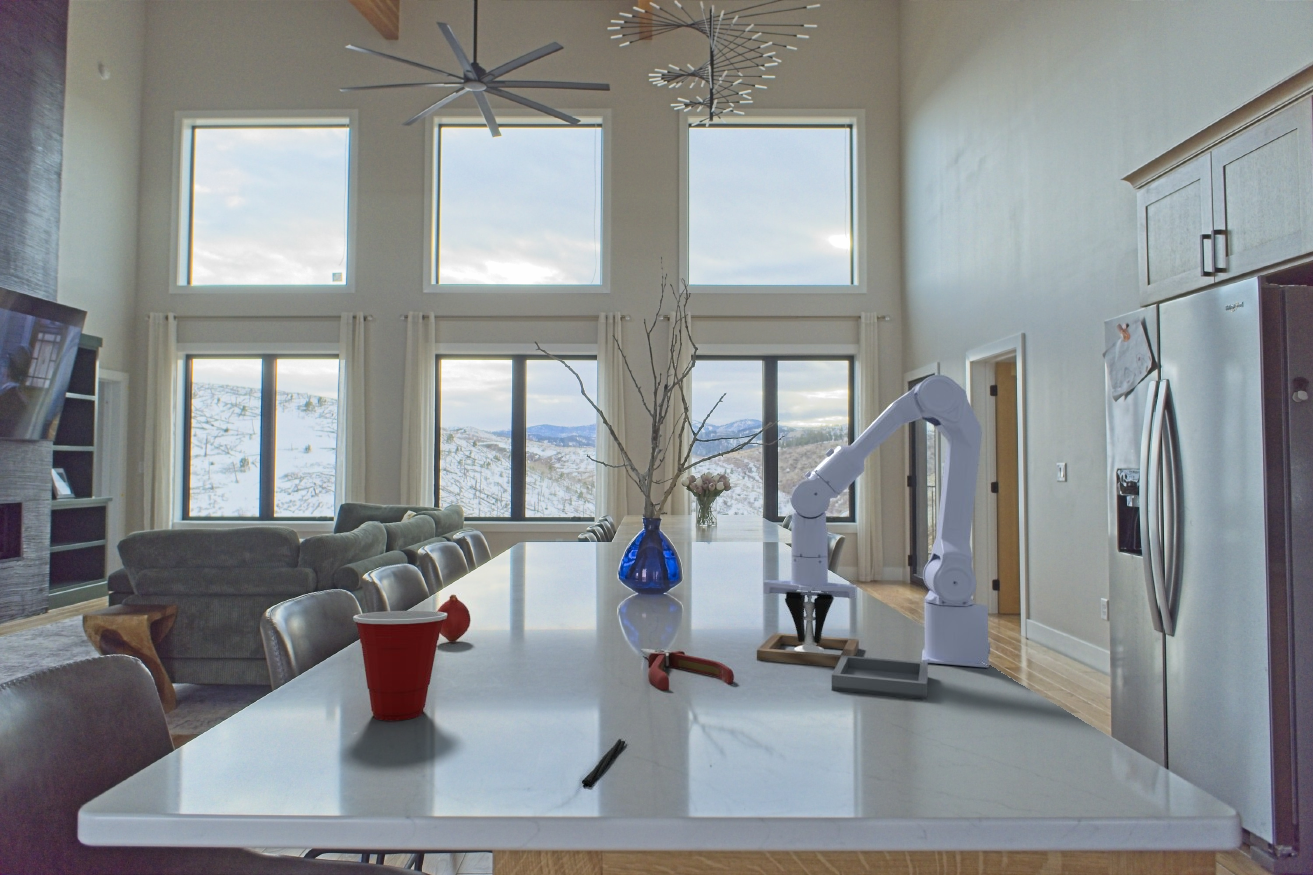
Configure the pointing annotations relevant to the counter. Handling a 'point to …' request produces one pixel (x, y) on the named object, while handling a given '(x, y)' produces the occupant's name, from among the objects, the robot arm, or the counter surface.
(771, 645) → the brown square frame
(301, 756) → the counter surface
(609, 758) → the electrical cable
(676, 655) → the pliers
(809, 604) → the chess piece
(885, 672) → the tray
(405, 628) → the plastic cup
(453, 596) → the onion
